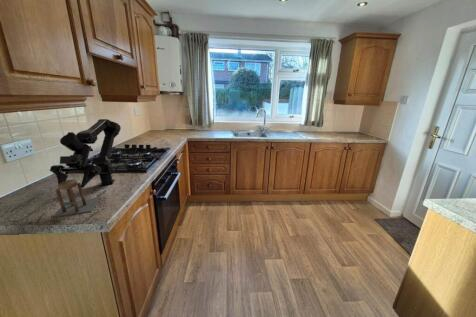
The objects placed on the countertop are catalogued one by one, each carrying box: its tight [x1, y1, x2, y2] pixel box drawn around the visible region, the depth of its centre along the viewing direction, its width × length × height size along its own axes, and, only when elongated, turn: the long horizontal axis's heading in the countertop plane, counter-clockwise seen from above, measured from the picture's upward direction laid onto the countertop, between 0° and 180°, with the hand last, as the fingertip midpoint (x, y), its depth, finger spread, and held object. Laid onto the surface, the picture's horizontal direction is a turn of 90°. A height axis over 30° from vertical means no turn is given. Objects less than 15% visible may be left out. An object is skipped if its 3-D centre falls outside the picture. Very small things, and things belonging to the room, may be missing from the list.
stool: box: [55, 179, 87, 213], centre depth 89 cm, size 6×6×12 cm
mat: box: [52, 197, 100, 218], centre depth 93 cm, size 12×14×1 cm
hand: (71, 187), depth 89 cm, fingers open, 9 cm apart
